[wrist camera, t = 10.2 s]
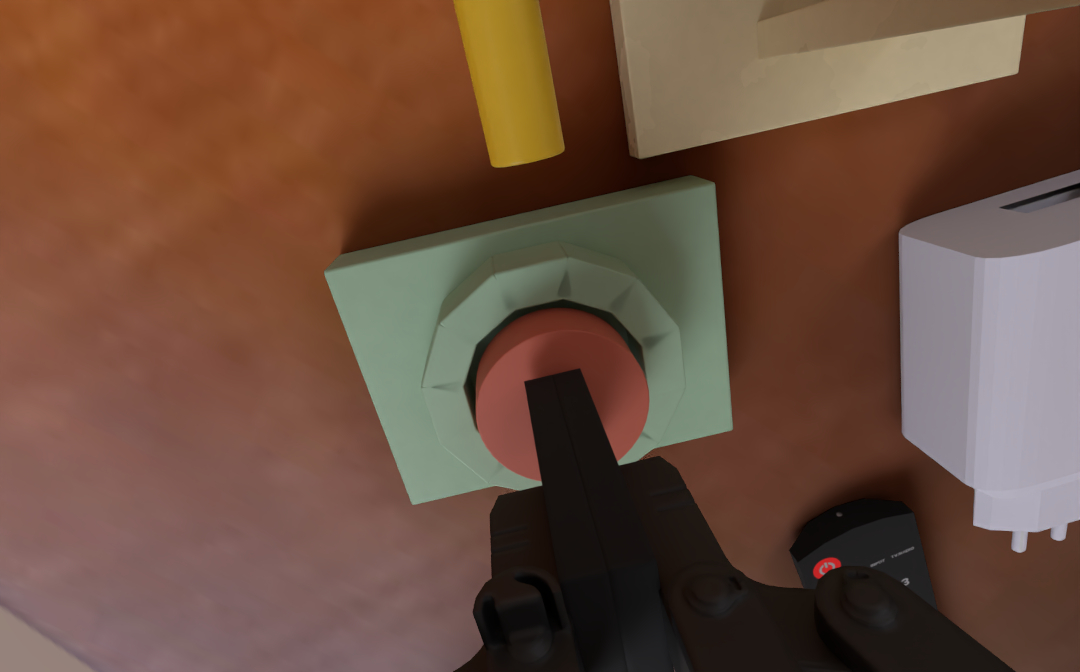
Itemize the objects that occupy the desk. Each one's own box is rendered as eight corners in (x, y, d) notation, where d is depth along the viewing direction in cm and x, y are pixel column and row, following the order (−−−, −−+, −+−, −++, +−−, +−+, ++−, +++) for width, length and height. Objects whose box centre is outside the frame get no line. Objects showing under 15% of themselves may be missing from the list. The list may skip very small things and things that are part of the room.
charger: (892, 533, 26) (884, 228, 20) (1084, 476, 25) (1135, 150, 19) (977, 621, 21) (1000, 262, 15) (1209, 553, 21) (1325, 163, 15)
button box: (692, 173, 18) (746, 190, 14) (712, 403, 22) (760, 463, 18) (338, 254, 18) (301, 292, 14) (417, 472, 22) (404, 547, 18)
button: (621, 290, 16) (637, 311, 14) (642, 429, 17) (659, 461, 16) (457, 327, 16) (455, 353, 14) (496, 463, 17) (498, 499, 16)
